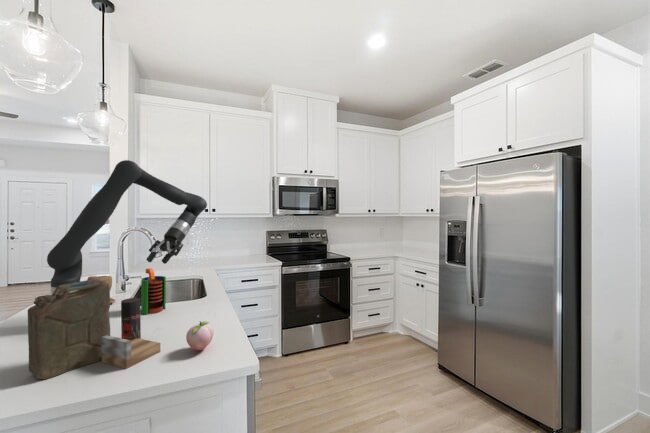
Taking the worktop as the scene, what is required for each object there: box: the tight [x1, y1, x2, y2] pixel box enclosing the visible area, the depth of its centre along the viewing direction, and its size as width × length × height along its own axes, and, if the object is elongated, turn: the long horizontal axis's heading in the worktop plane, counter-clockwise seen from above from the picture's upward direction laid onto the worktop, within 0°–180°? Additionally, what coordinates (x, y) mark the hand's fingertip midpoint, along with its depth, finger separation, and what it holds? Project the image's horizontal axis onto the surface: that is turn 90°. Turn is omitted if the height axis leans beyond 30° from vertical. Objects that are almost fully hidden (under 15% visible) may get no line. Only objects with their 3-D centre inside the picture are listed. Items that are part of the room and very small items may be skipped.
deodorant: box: [120, 297, 142, 340], centre depth 113 cm, size 6×6×15 cm
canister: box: [27, 279, 111, 380], centre depth 95 cm, size 19×8×25 cm, turn 147°
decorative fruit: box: [185, 320, 214, 351], centre depth 106 cm, size 9×8×10 cm
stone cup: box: [86, 275, 116, 304], centre depth 154 cm, size 15×12×15 cm
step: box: [101, 335, 161, 369], centre depth 101 cm, size 11×12×8 cm
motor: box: [140, 267, 167, 316], centre depth 146 cm, size 10×9×20 cm
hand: (155, 261), depth 128 cm, fingers open, 8 cm apart
